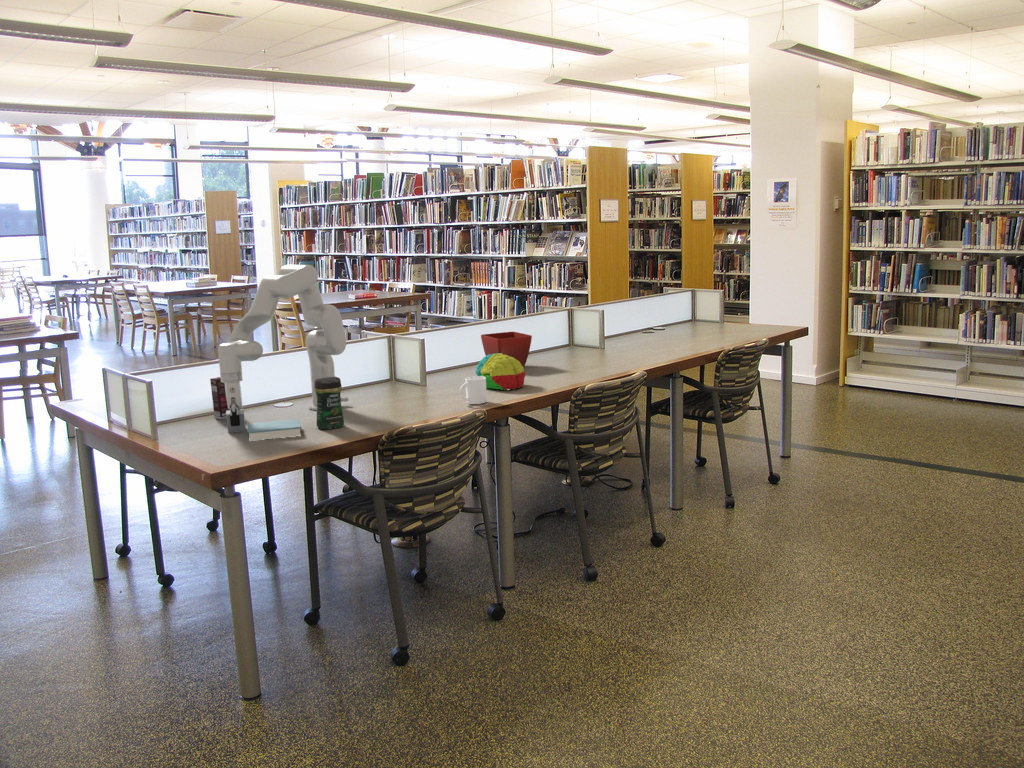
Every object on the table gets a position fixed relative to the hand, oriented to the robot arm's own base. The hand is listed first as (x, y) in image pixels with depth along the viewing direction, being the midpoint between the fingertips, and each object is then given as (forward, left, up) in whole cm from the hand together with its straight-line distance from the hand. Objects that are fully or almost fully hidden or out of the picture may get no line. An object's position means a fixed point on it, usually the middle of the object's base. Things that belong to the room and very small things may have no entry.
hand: (235, 422), depth 307 cm
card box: (0, 0, -3) cm, 3 cm away
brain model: (-111, -34, -3) cm, 116 cm away
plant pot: (-127, -76, -3) cm, 148 cm away
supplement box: (+4, -25, -3) cm, 26 cm away
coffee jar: (-33, +10, -3) cm, 35 cm away
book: (-13, +13, -3) cm, 19 cm away
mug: (-91, -6, -3) cm, 91 cm away
